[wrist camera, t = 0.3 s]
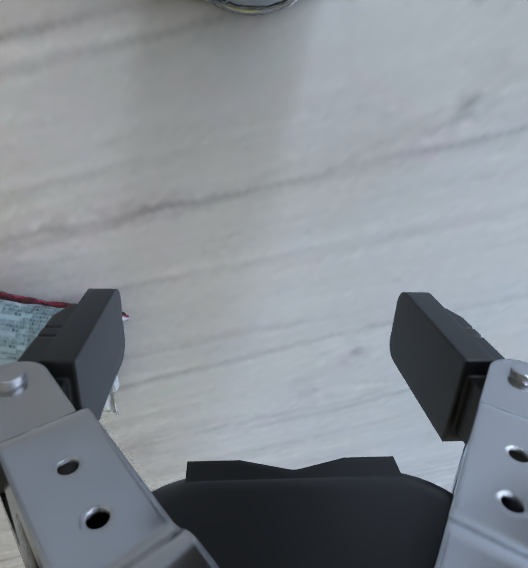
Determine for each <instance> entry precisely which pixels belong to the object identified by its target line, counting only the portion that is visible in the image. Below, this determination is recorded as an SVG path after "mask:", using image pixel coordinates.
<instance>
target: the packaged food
mask: <svg viewBox="0 0 528 568" xmlns="http://www.w3.org/2000/svg"><path fill="white" fill-rule="evenodd" d="M77 305H78V304H68V303H63V302H46V301H43V300H40V299H37V298H30V297H24V296H19V295H12V294H6V293H4V292H0V366H1V365H4V364H8V363H13V362H17V361H18V359H19V358H20V357H21V355H22V354H23V353H24V352H25V350H26V349H27V348H28V347H29V345H30V344H31V343H32V341H33V340H34V339H35V338H36V337H38V334H39V332H40V331H41V330H42V329H43V328H45V325H46V323H47V322H48V321H49V320H50V318H51V317H52V316H53V315H54V314H56V313H57V312H59V311H61V310H62V309H64V308H66V307H67V306H77ZM122 318H123V322H125V321H126V320H128V319H129V318H130V317H129V316H128V315H126V314H125V313H124V312H122ZM118 388H119V381H118V377H117V376H116V378H115V381H114V383H113V386H112V389H111V391H110V394H109V396H108V399H107V401H106V404H105V406H104V409H103V411H108V412H116V414H117V417H118V412H117V409H116V404H115V400H114V395H113V393H114V391H115V392H116V390H117V389H118Z"/></svg>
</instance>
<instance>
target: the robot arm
mask: <svg viewBox="0 0 528 568" xmlns="http://www.w3.org/2000/svg"><path fill="white" fill-rule="evenodd" d="M208 1H210V2H211V3H213V4H214V5H216V6H218V7H220V8H222V9H225V10H227V11H230V12H234V13H238V14H244V15H262V14H268V13H272V12H275V11H278V10H281V9H283V8H285V7H287V6H289V5H290V6H291V5H292V4H294V3H295V2H296V1H297V0H208ZM290 6H289V7H290ZM289 7H288V8H289ZM124 348H125V338H124V328H123V318H122V308H121V298H120V293H119V291H118V289H88V290H87V292H86V293H85V295H84V296H83V298H82V299H81V300H80V302H79V303H78V305H77V306H67V307H66V308H64V309H62V310H61V311H59V312H57V313H56V314H54V315H53V316H52V317H51V318H50V320H49V321H48V322H47V323H46V325H45V328H43V329H42V330H41V331H40V332H39V334H38V337H36V338H35V339H34V340H33V341H32V343H31V344H30V345H29V347H28V348H27V349H26V350H25V352H24V353H23V354H22V355H21V357H20V358H19V359H18V361H17V362H13V363H8V364H4V365H1V366H0V500H1V503H2V506H3V508H4V511H5V514H6V516H7V519H8V522H9V524H10V527H11V530H12V532H13V535H14V538H15V540H16V543H17V546H18V548H19V551H20V554H21V556H22V559H23V562H24V565H25V568H528V363H526V362H523V361H518V360H512V359H505V358H504V357H503V356H502V355H501V354H499V353H498V352H497V351H496V350H495V349H494V348H493V347H492V346H491V345H490V344H489V343H488V342H487V341H486V340H485V339H484V338H481V335H480V334H479V333H478V332H477V331H476V330H475V329H472V326H471V325H469V324H468V323H467V322H466V321H465V320H464V319H463V318H462V317H460V316H459V315H457V314H455V313H453V312H451V311H450V310H448V309H445V308H444V307H443V306H442V305H441V304H440V303H439V302H438V301H437V300H436V299H435V298H434V297H433V296H432V295H431V294H430V293H425V292H403V293H401V294H400V296H399V298H398V301H397V306H396V311H395V316H394V321H393V327H392V332H391V337H390V353H391V357H392V359H393V361H394V363H395V364H396V366H397V368H398V369H399V371H400V373H401V374H402V376H403V378H404V379H405V381H406V382H407V384H408V386H409V387H410V389H411V391H412V392H413V394H414V395H415V397H416V399H417V400H418V402H419V404H420V405H421V407H422V409H423V410H424V412H425V413H426V415H427V417H428V418H429V420H430V422H431V423H432V425H433V427H434V428H435V430H436V431H437V433H438V435H439V436H440V438H441V440H442V441H463V442H464V443H465V446H464V449H463V453H462V456H461V459H460V463H459V466H458V470H457V473H456V476H455V480H454V483H453V487H452V490H451V493H450V492H448V491H447V490H445V489H443V488H441V487H439V486H437V485H435V484H433V483H431V482H428V481H426V480H423V479H421V478H418V477H414V476H411V475H407V474H403V473H400V471H399V469H398V466H397V464H396V462H395V460H394V457H393V456H390V457H351V458H341V459H337V460H333V461H329V462H325V463H321V464H317V465H314V466H310V467H306V468H302V469H297V470H290V469H284V468H279V467H273V466H268V465H262V464H257V463H252V462H246V461H241V460H233V461H194V462H187V471H186V479H183V480H179V481H176V482H173V483H170V484H168V485H165V486H163V487H161V488H159V489H157V490H154V491H152V492H151V491H150V490H149V489H148V487H147V486H146V485H145V483H144V482H143V480H142V479H141V478H140V476H139V475H138V474H137V472H136V471H135V470H134V468H133V467H132V466H131V464H130V463H129V462H128V460H127V459H126V457H125V456H124V455H123V453H122V452H121V451H120V449H119V448H118V447H117V445H116V444H115V443H114V441H113V440H112V439H111V437H110V436H109V434H108V433H107V432H106V430H105V429H104V428H103V426H102V425H101V424H100V422H99V419H100V417H101V414H102V412H103V409H104V406H105V404H106V401H107V399H108V396H109V394H110V391H111V389H112V386H113V383H114V381H115V378H116V376H117V373H118V371H119V368H120V366H121V363H122V360H123V356H124Z"/></svg>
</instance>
